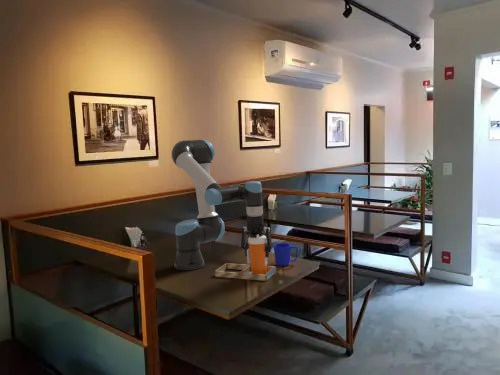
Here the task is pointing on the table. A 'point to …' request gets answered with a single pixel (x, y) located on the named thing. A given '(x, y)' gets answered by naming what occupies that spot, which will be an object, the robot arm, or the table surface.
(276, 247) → the mug
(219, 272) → the caddy
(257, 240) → the shaker bottle
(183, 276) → the table surface
